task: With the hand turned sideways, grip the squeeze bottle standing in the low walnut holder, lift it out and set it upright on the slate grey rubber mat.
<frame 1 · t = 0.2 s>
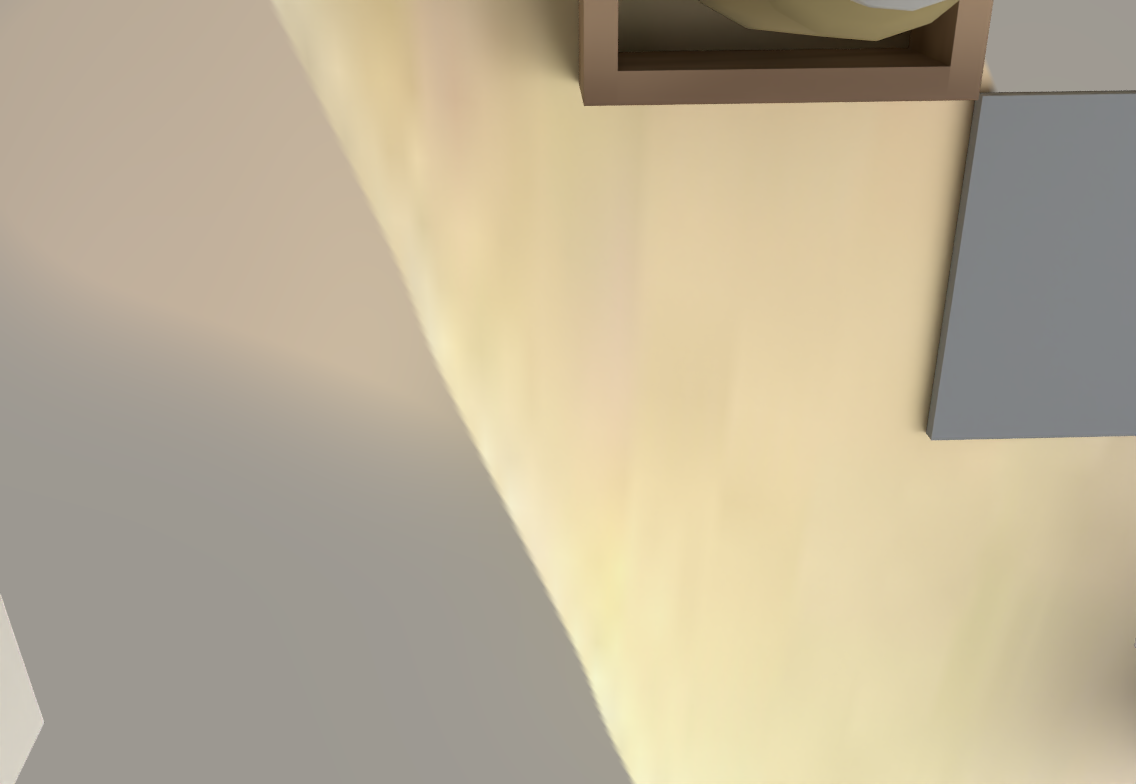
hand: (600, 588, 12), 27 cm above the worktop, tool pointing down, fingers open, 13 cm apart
mat: (1125, 271, 40), on the worktop
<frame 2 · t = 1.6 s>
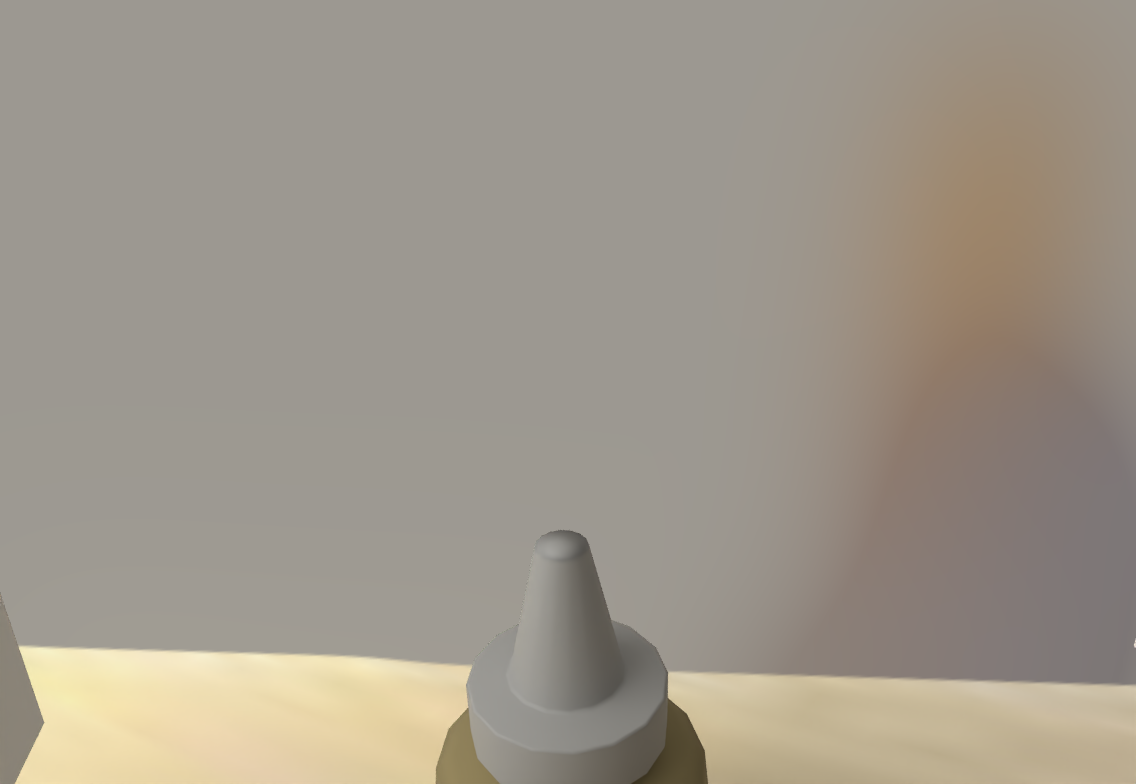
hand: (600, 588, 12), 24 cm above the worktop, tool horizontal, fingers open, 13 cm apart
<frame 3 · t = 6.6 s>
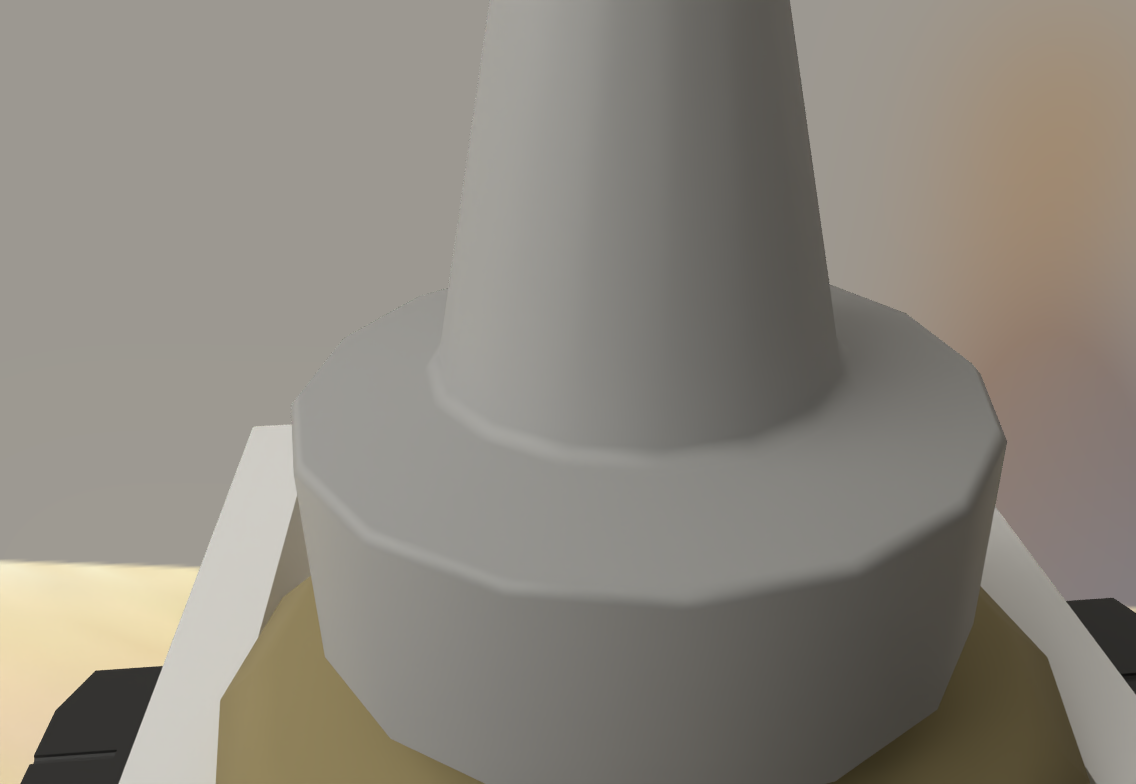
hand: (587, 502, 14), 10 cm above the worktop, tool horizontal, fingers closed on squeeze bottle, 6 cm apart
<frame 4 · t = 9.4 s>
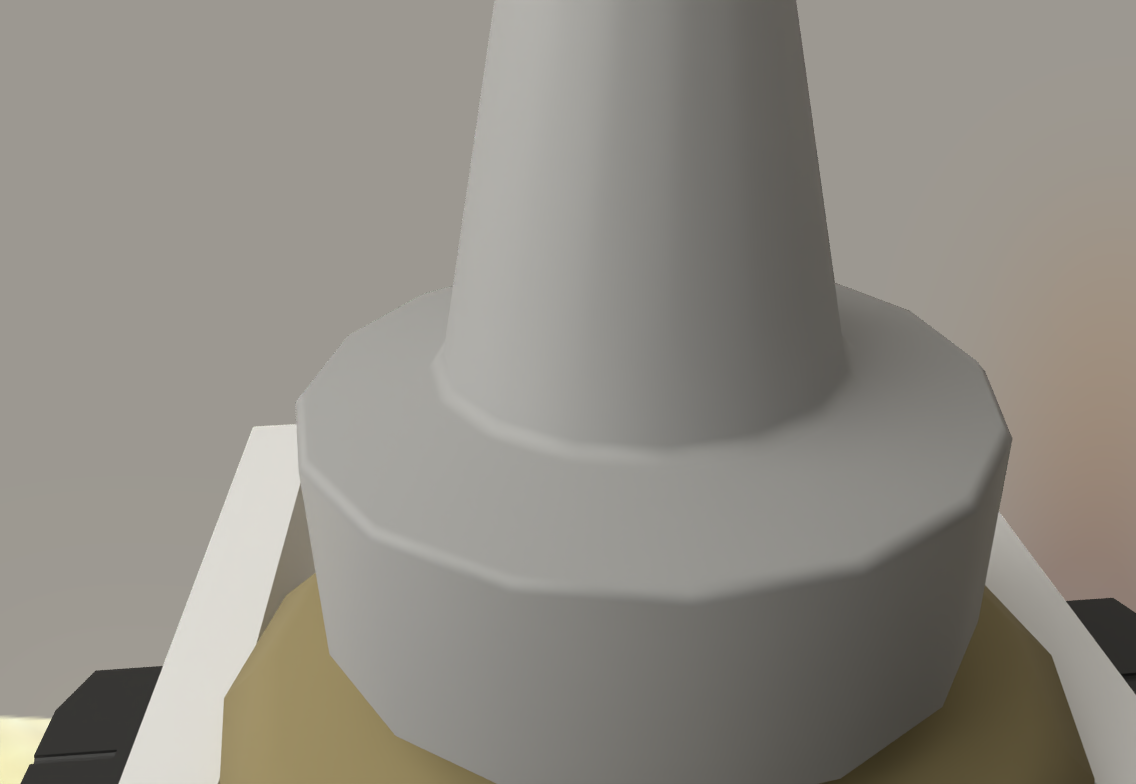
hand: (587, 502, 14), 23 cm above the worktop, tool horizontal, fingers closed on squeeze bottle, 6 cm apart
when the fingers open (12 cm above the worktop, at t = 12.4 s): squeeze bottle drops 1 cm, resting on mat.
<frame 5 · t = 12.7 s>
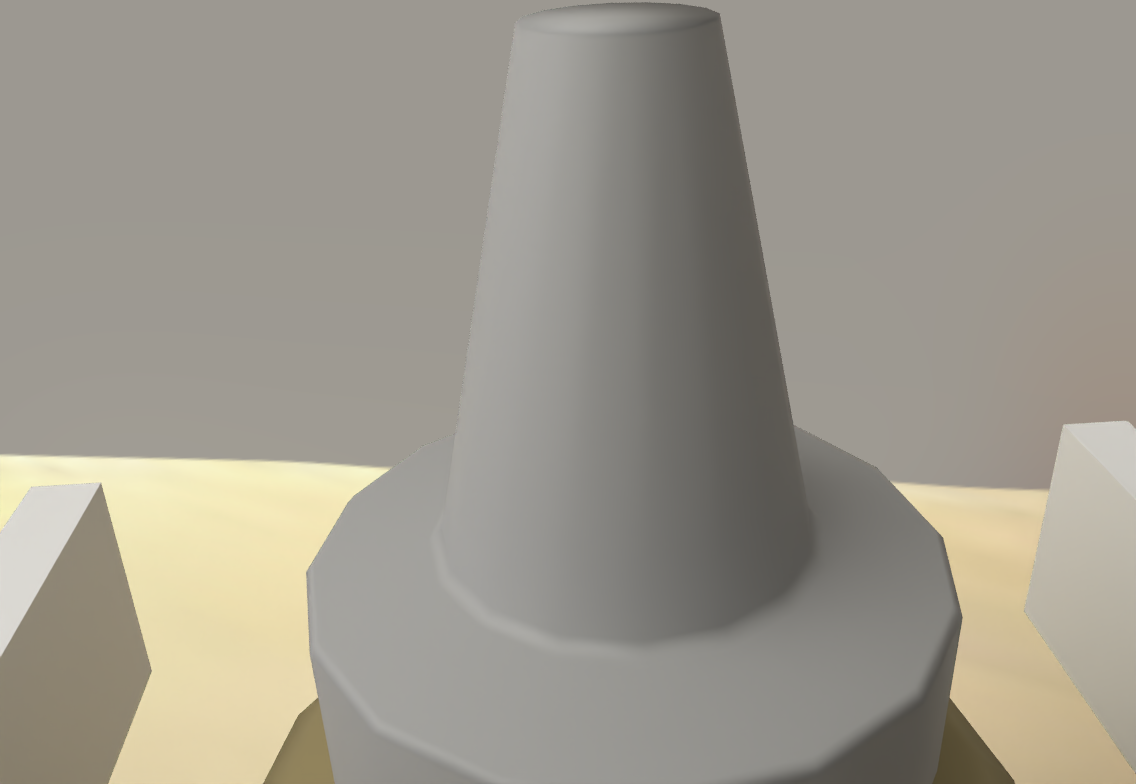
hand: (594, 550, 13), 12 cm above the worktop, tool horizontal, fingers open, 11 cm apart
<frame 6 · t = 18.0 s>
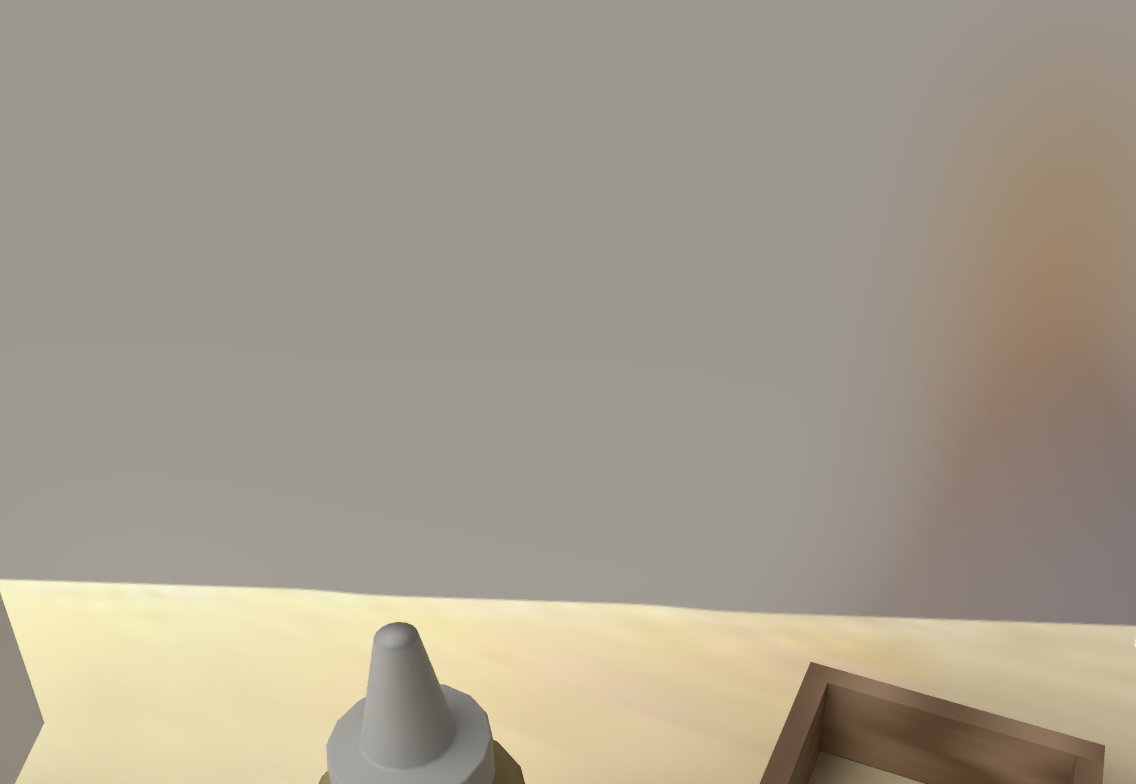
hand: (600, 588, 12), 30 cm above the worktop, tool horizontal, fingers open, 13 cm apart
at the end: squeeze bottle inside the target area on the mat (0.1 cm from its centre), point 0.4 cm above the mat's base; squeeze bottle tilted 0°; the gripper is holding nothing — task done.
